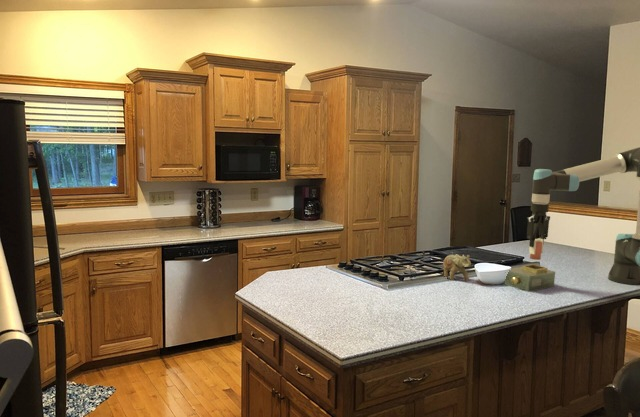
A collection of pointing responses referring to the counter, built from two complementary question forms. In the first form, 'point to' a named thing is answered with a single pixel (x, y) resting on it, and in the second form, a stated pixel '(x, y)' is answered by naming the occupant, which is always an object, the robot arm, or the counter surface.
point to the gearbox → (530, 278)
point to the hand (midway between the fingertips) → (535, 253)
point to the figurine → (456, 265)
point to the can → (537, 250)
